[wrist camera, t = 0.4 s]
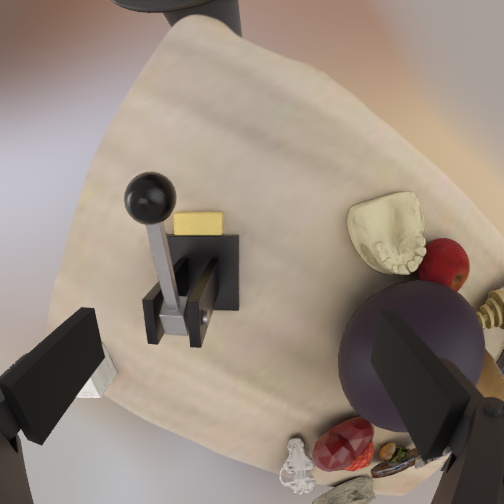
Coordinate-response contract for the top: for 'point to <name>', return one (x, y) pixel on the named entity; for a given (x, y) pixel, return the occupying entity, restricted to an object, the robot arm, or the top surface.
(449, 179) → the top surface
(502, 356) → the vhs cassette tape
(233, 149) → the top surface
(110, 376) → the white cardboard box
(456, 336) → the dark purple dome
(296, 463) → the skull
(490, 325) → the toy gun
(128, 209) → the slicer arm
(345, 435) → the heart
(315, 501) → the fossil
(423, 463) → the toy
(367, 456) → the red bumpy berry
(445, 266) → the apple
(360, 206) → the lumpy plaster cast
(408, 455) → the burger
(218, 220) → the butter
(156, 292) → the black lever stand
